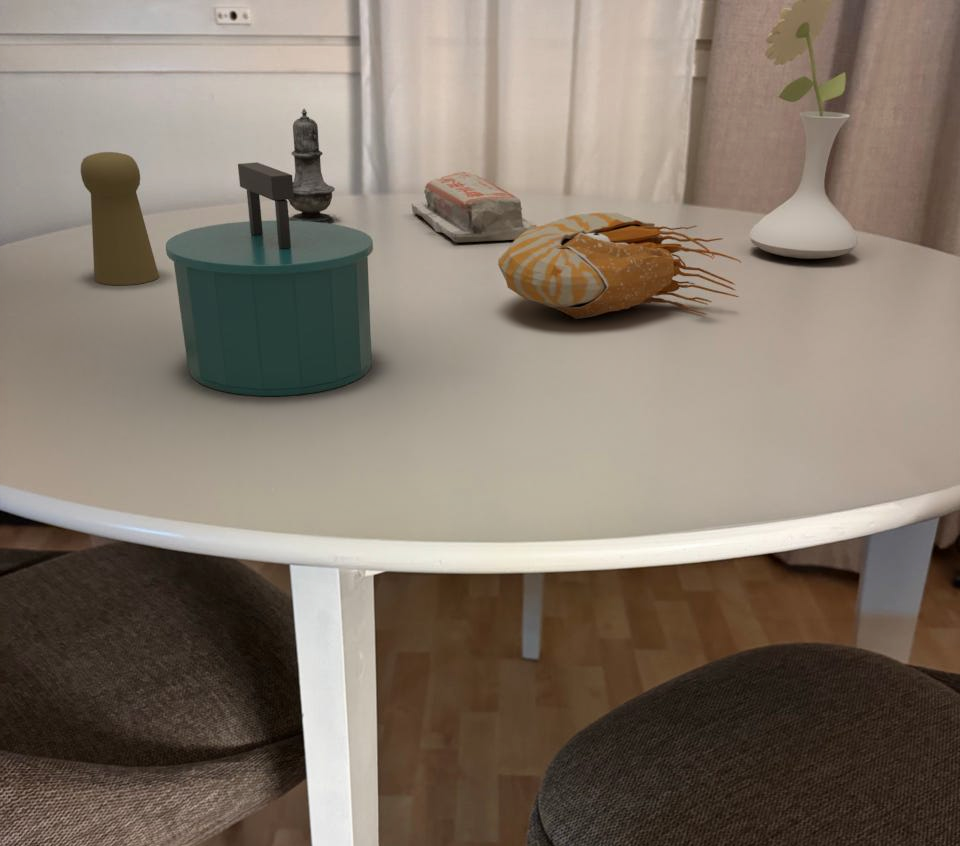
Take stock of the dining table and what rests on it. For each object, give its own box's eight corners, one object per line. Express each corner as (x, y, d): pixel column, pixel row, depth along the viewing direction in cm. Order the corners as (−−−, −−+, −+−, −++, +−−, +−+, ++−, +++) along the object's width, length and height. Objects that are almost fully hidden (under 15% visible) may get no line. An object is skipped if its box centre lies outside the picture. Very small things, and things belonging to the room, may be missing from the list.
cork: (110, 268, 105) (90, 147, 100) (168, 271, 105) (152, 149, 99) (83, 283, 100) (60, 157, 95) (144, 286, 100) (125, 159, 94)
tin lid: (211, 294, 68) (200, 195, 65) (140, 249, 79) (127, 161, 75) (409, 268, 75) (408, 176, 72) (320, 229, 85) (315, 148, 82)
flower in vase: (815, 240, 121) (861, -16, 108) (876, 263, 112) (934, -14, 99) (714, 247, 118) (748, -18, 104) (769, 271, 109) (813, -15, 95)
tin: (230, 408, 73) (215, 282, 68) (164, 355, 83) (147, 241, 78) (402, 376, 79) (399, 258, 75) (323, 330, 89) (316, 223, 84)
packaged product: (540, 194, 116) (453, 199, 114) (538, 241, 119) (453, 246, 116) (488, 168, 131) (409, 171, 128) (487, 210, 133) (410, 213, 131)
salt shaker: (304, 227, 123) (296, 112, 116) (276, 219, 127) (267, 107, 120) (346, 221, 126) (340, 109, 120) (318, 213, 130) (311, 104, 123)
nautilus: (730, 300, 101) (739, 357, 89) (506, 275, 102) (485, 327, 90) (748, 213, 96) (761, 260, 84) (513, 188, 98) (492, 231, 85)
